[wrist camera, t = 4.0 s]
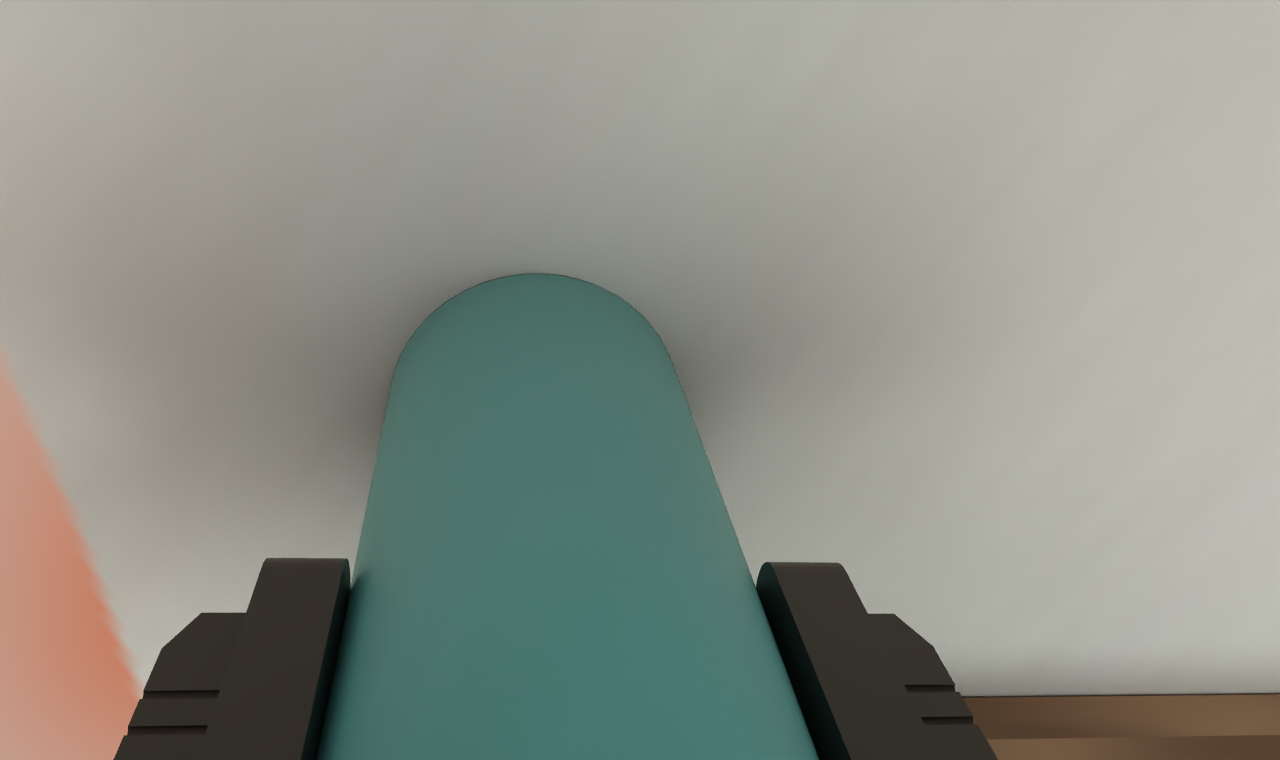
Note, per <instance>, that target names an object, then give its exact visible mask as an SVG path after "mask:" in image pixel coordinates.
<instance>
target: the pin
mask: <svg viewBox="0 0 1280 760" xmlns="http://www.w3.org/2000/svg"><path fill="white" fill-rule="evenodd" d="M317 760H819V757H818V755H817V752H816V749H815V746H814V744H813V741H812V738H811V736H810V733H809V730H808V728H807V725H806V722H805V719H804V717H803V714H802V711H801V709H800V706H799V703H798V701H797V698H796V695H795V692H794V690H793V687H792V684H791V682H790V679H789V676H788V673H787V671H786V668H785V665H784V663H783V660H782V657H781V655H780V652H779V649H778V646H777V644H776V641H775V638H774V636H773V633H772V630H771V628H770V625H769V622H768V619H767V617H766V614H765V611H764V609H763V606H762V603H761V601H760V598H759V595H758V592H757V590H756V587H755V584H754V582H753V579H752V576H751V574H750V571H749V568H748V565H747V563H746V560H745V557H744V555H743V552H742V549H741V547H740V544H739V541H738V538H737V536H736V533H735V530H734V528H733V525H732V522H731V520H730V517H729V514H728V511H727V509H726V506H725V503H724V501H723V498H722V495H721V493H720V490H719V487H718V484H717V482H716V479H715V476H714V474H713V471H712V468H711V466H710V463H709V460H708V457H707V455H706V452H705V449H704V447H703V444H702V441H701V439H700V436H699V433H698V430H697V428H696V425H695V422H694V420H693V417H692V414H691V412H690V409H689V406H688V403H687V401H686V398H685V395H684V393H683V390H682V387H681V385H680V382H679V379H678V376H677V374H676V371H675V368H674V366H673V363H672V361H671V358H670V356H669V354H668V351H667V349H666V347H665V345H664V344H663V342H662V340H661V339H660V337H659V335H658V334H657V332H656V331H655V330H654V329H653V327H652V326H651V325H650V324H649V322H648V321H647V320H646V319H645V318H644V317H643V316H642V315H641V314H640V313H639V312H638V311H637V310H635V309H634V308H633V307H632V306H631V305H629V304H628V303H626V302H625V301H624V300H622V299H621V298H619V297H618V296H616V295H614V294H613V293H611V292H609V291H607V290H605V289H603V288H601V287H599V286H596V285H593V284H591V283H588V282H585V281H583V280H579V279H574V278H570V277H566V276H559V275H550V274H522V275H515V276H508V277H502V278H499V279H495V280H492V281H488V282H484V283H482V284H480V285H477V286H475V287H472V288H470V289H468V290H466V291H464V292H462V293H460V294H459V295H457V296H455V297H453V298H452V299H450V300H448V301H447V302H446V303H445V304H443V305H442V306H441V307H439V308H438V309H437V310H435V311H434V312H433V313H432V314H431V315H430V316H429V317H428V318H427V319H426V320H425V321H424V322H423V323H422V324H421V325H420V326H419V328H418V329H417V330H416V332H415V333H414V334H413V336H412V337H411V338H410V340H409V341H408V343H407V345H406V347H405V349H404V351H403V352H402V354H401V356H400V359H399V361H398V364H397V366H396V369H395V372H394V376H393V380H392V385H391V389H390V394H389V399H388V404H387V409H386V414H385V419H384V424H383V429H382V434H381V438H380V443H379V448H378V453H377V458H376V463H375V468H374V473H373V478H372V483H371V488H370V493H369V498H368V503H367V508H366V513H365V518H364V523H363V527H362V532H361V537H360V542H359V547H358V552H357V557H356V562H355V567H354V572H353V577H352V582H351V591H350V596H349V601H348V605H347V610H346V615H345V620H344V625H343V630H342V635H341V640H340V645H339V650H338V655H337V660H336V665H335V670H334V675H333V680H332V685H331V690H330V695H329V700H328V705H327V710H326V715H325V720H324V725H323V730H322V735H321V740H320V745H319V750H318V755H317Z"/></svg>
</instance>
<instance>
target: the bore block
mask: <svg viewBox="0 0 1280 760" xmlns="http://www.w3.org/2000/svg"><path fill="white" fill-rule="evenodd" d="M963 699H964V701H965V703H966V705H967V706H968V708H969V710H970V712H971V713H972V715H973V723H974V725H978V726H979V727H980V729H981V731H982V732H983V734H984V736H985V738H986V739H987V741H988V743H989V745H990V746H991V748H992V750H993V752H994V753H995V755H996V757H997V759H998V760H1280V694H1268V695H1174V696H1080V697H987V698H963Z"/></svg>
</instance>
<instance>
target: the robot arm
mask: <svg viewBox="0 0 1280 760" xmlns="http://www.w3.org/2000/svg"><path fill="white" fill-rule="evenodd" d="M756 590H757V592H758V595H759V598H760V601H761V603H762V606H763V609H764V611H765V614H766V617H767V619H768V622H769V625H770V628H771V630H772V633H773V636H774V638H775V641H776V644H777V646H778V649H779V652H780V655H781V657H782V660H783V663H784V665H785V668H786V671H787V673H788V676H789V679H790V682H791V684H792V687H793V690H794V692H795V695H796V698H797V701H798V703H799V706H800V709H801V711H802V714H803V717H804V719H805V722H806V725H807V728H808V730H809V733H810V736H811V738H812V741H813V744H814V746H815V749H816V752H817V755H818V757H819V760H998V759H997V757H996V755H995V753H994V752H993V750H992V748H991V746H990V745H989V743H988V741H987V739H986V738H985V736H984V734H983V732H982V731H981V729H980V727H979V726H978V725H974V723H973V715H972V713H971V712H970V710H969V708H968V706H967V705H966V703H965V701H964V699H963V698H962V696H961V694H960V692H955V684H954V682H953V680H952V679H951V677H950V675H949V673H948V672H947V670H946V668H945V666H944V665H943V663H942V661H941V659H940V658H939V656H938V654H937V652H936V651H935V649H934V647H933V646H932V645H931V644H930V643H928V642H927V641H926V640H925V639H924V638H922V637H921V636H920V635H919V634H918V633H916V632H915V631H914V630H913V629H912V628H910V627H909V626H908V625H907V624H906V623H904V622H903V621H902V620H901V619H900V618H898V617H897V616H896V615H895V614H868V613H867V612H866V610H865V608H864V606H863V604H862V602H861V600H860V598H859V596H858V594H857V592H856V590H855V588H854V586H853V584H852V582H851V580H850V578H849V576H848V574H847V572H846V571H845V569H844V567H843V566H842V565H841V564H839V563H809V562H766V563H764V564H763V565H762V567H761V569H760V572H759V575H758V579H757V584H756ZM350 591H351V586H350V568H349V562H348V559H341V558H267V559H265V561H264V563H263V565H262V568H261V571H260V574H259V577H258V580H257V583H256V586H255V589H254V592H253V594H252V597H251V600H250V603H249V606H248V609H247V612H246V613H201V614H200V615H199V616H197V617H196V618H195V619H194V620H193V621H192V622H191V623H190V624H189V625H187V626H186V627H185V628H184V629H183V630H182V631H181V632H180V633H179V634H177V635H176V636H175V637H174V638H173V639H172V640H171V641H170V642H169V643H167V644H166V645H165V646H164V647H163V648H162V649H161V652H160V654H159V656H158V658H157V661H156V663H155V665H154V668H153V670H152V672H151V675H150V677H149V679H148V682H147V684H146V686H145V688H144V694H143V699H140V700H139V702H138V705H137V707H136V709H135V712H134V714H133V716H132V719H131V721H130V723H129V725H128V734H127V736H124V737H123V739H122V742H121V744H120V746H119V748H118V751H117V753H116V755H115V758H114V760H317V755H318V750H319V745H320V740H321V735H322V730H323V725H324V720H325V715H326V710H327V705H328V700H329V695H330V690H331V685H332V680H333V675H334V670H335V665H336V660H337V655H338V650H339V645H340V640H341V635H342V630H343V625H344V620H345V615H346V610H347V605H348V601H349V596H350Z"/></svg>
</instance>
